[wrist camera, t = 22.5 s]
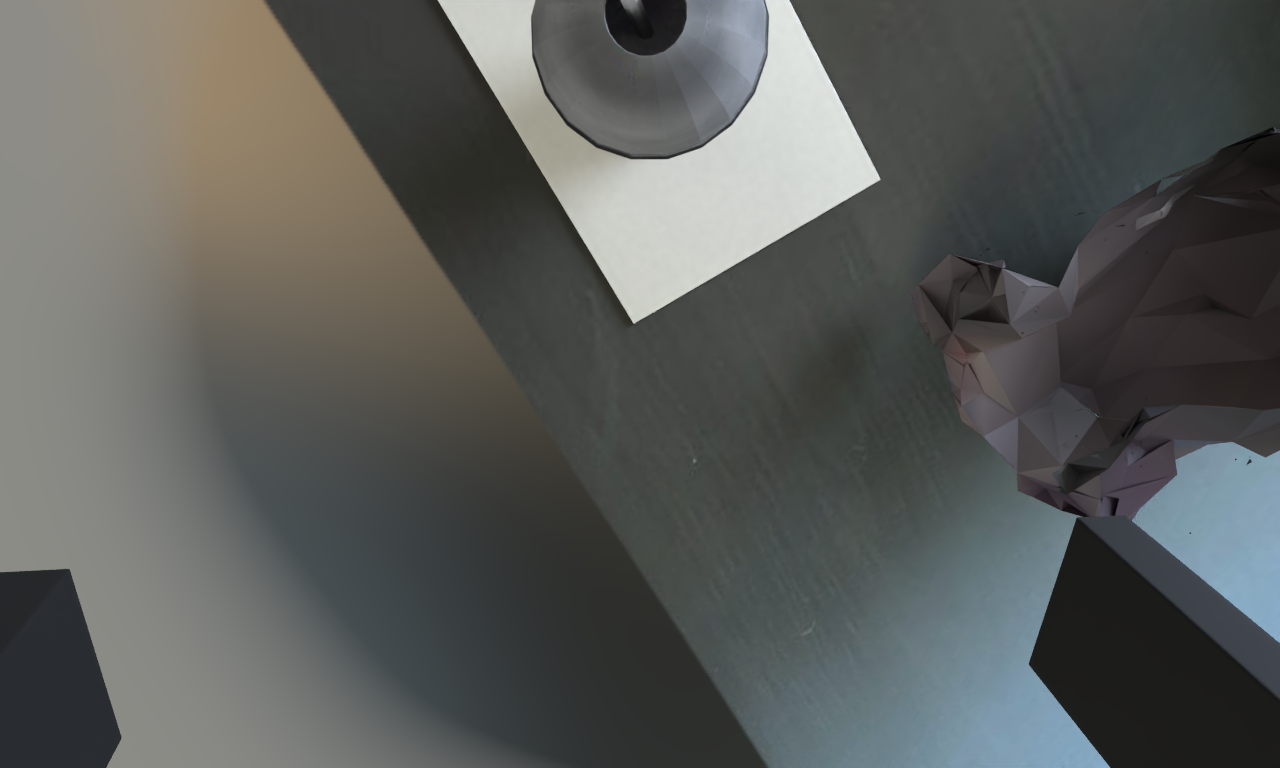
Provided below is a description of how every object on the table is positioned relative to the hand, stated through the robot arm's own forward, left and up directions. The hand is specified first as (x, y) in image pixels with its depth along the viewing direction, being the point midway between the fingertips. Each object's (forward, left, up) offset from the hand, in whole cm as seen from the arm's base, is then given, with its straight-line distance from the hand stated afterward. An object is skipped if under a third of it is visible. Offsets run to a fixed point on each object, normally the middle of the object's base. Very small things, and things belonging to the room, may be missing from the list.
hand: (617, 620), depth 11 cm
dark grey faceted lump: (+21, +7, -29) cm, 36 cm away
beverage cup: (-3, +9, -28) cm, 30 cm away
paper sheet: (-3, +9, -28) cm, 30 cm away
